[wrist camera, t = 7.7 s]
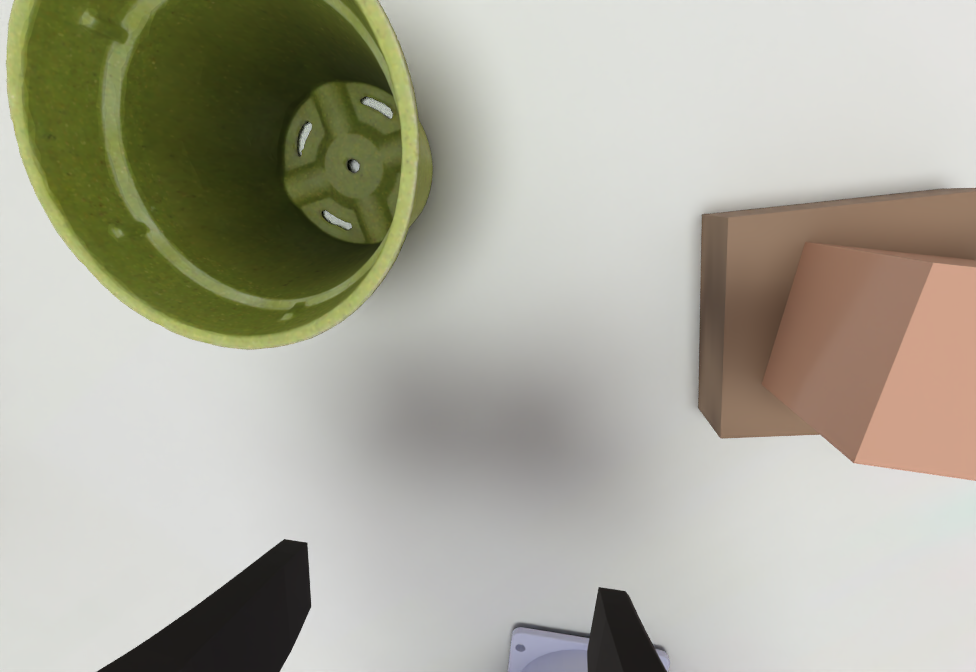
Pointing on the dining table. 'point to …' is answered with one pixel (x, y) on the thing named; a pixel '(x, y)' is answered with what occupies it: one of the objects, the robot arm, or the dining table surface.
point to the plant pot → (221, 155)
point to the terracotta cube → (882, 356)
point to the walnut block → (769, 277)
